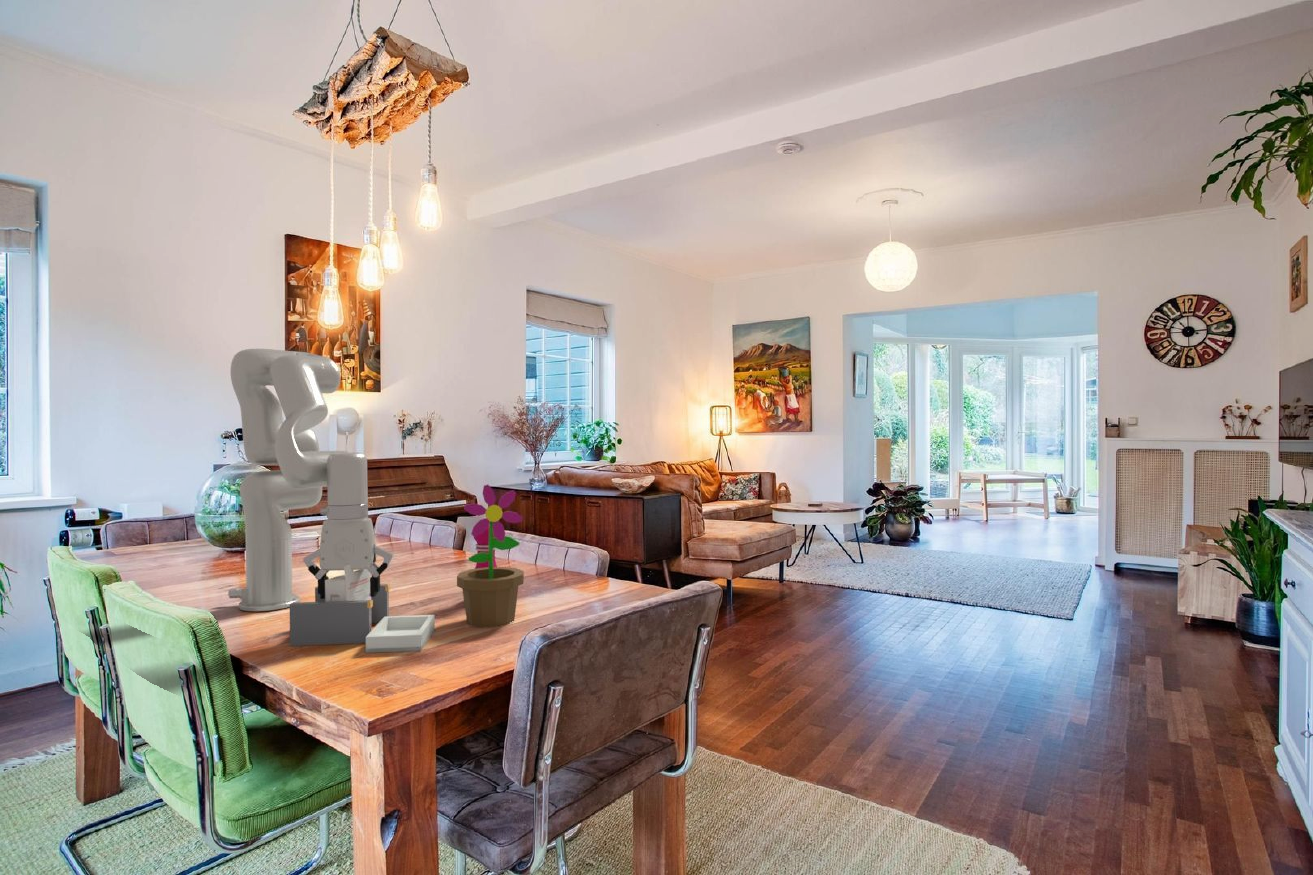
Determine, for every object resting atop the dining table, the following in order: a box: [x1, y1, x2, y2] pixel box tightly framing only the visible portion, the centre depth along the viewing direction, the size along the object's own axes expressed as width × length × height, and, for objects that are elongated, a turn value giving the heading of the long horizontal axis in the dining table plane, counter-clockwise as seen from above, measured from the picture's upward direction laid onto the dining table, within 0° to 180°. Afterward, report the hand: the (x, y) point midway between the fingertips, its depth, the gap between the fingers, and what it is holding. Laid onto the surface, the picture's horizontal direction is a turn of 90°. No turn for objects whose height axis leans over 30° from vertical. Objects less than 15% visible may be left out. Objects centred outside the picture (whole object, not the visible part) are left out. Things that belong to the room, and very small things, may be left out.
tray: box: [365, 614, 436, 654], centre depth 139 cm, size 10×14×3 cm
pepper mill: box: [473, 516, 498, 569], centre depth 171 cm, size 7×7×20 cm
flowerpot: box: [456, 484, 525, 628], centre depth 152 cm, size 14×14×30 cm
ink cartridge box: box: [325, 564, 373, 627], centre depth 144 cm, size 9×5×15 cm, turn 168°
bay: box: [289, 583, 391, 647], centre depth 144 cm, size 15×16×8 cm
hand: (349, 596), depth 144 cm, fingers open, 9 cm apart
